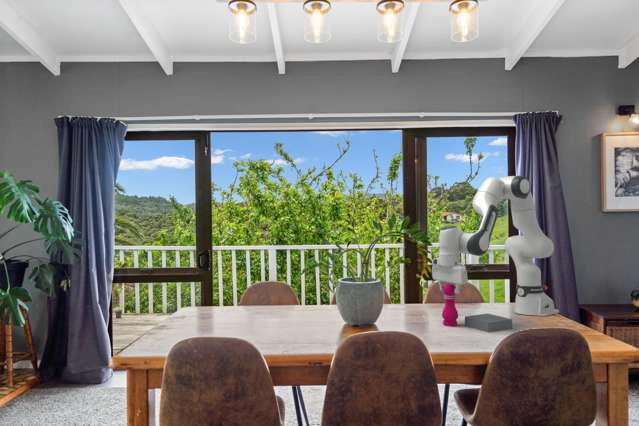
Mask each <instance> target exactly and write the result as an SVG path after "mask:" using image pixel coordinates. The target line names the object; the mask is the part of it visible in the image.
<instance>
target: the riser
mask: <svg viewBox="0 0 639 426" xmlns="http://www.w3.org/2000/svg"><path fill="white" fill-rule="evenodd" d="M464 326H465V327H469V328H473V329H477V330H480V331H484V332H486V333H492V332H497V331H503V330H510V329H513V319H512V318H508V317H504V316H501V315H496V314H492V313H482V314H481V313H480V314H473V315H468V316H467V315H465V316H464Z"/></svg>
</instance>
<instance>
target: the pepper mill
mask: <svg viewBox="0 0 639 426" xmlns="http://www.w3.org/2000/svg"><path fill="white" fill-rule="evenodd" d="M454 289H456V285H454V284H453V283H451V282H447V284H445V285H444V287H443V291H442V292H443V293H444V294H443V295H444V297H443V298H444V300H445V301H444V302H445V304H444V308H443V309H442V312H441V317H442V319H443V321H442V324H443V326H446V327H456V326H458V321H457V320H458V319H459V313H458V310H457V307H456V305H455V299H456V293H454Z"/></svg>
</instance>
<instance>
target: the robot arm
mask: <svg viewBox="0 0 639 426" xmlns="http://www.w3.org/2000/svg"><path fill="white" fill-rule="evenodd" d="M500 200H509V201H510V212H511V217H512V225H513V226H514V227H515V229H517V230H519V232H520V233H521V234H522V235H520V234H519V235H512V236H510V237H507V239H506V240H505V242H504V249H505V252H506V253H507V254H508V255H509V256H510V257H511V259H512V261H513V262H514V265H515V270H516V281H517V282H516V286H515V288H516V290H515V291H516V295H515V301H514V305H515V306H514V307H513V312H514V313H515V314H518V315H519V314H520V315H524V316H534V317H535V316H539V317H540V316H541V317H548V316H551V315H555V314H558V313H560V310H559V309H556V308H555V303H554V301H553V299H552V298H550V297H549V296H548V295H547V294H546V293H545V291H547V289H548V286H547V285H542V271H541V269H540V267H539V266H537V265H536V264H535V263H534V260H533V259H546V258H549V257H551V256H552V255H553V253H554V250H555V249H554V248H555V246H554V242H553V240H552V239H551V238H549V237H548V236H547V235H545V233H544V232H543V231H542V229H541V228H540V224H539V223H538V219H537V213H536V207H535V201H534V198H533V194H532V192H531V182H530V181H529V179H528V178H527V177H526V176H524V175H523V176H522V175H511V176H510V175H509V176H507V175H505V176H504V177H503V176H502V177H499V178H498V177H494V176H491V177H488V178H486V179H485V180H484V182H482V184H481V185H480V186H479V188H478V189H477V192H476V194H475V195H474V196H473V200H472V208H473V210H474V211H475V213H477V214H478V215H479V216H481V217H482V220H481V223H480V225H479V227H478V230H476V231H475V232H473V233H471V232H464V231H462V230H460V229H459V228H458V226H457V225H448V226H443V227H441V229H440V231H439V236H438V237H439V239H438V242H439V243H438V245H439V246H438V247H439V253H438V254H439V255H438V256H439V257H436V258H433V259H432V260H431V263H432V267H431V276H432V279H433V281H434V280H435V281H438V284H439V289H440V291H442V292H443V287H444V286H445V285H444V282H447V283H448V282H451V283H452V284H455V287H456V289H454V293H455V294H460V289H461V287H462V285H467V284H468V282H469V281H468V280H469V279H468V270H467V266H466V265H465V264H464V263H463V262H460V254H464V255H472V256H476V257H481V256H484V255H485V254H486V253H487V252H488V250H489V248H490V243H491V238H492V234H493V231H494V229H495V225H496V222H497V219H498V215H499V209H498V208H497V207H498V204H499V202H500ZM544 290H545V291H544Z"/></svg>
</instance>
